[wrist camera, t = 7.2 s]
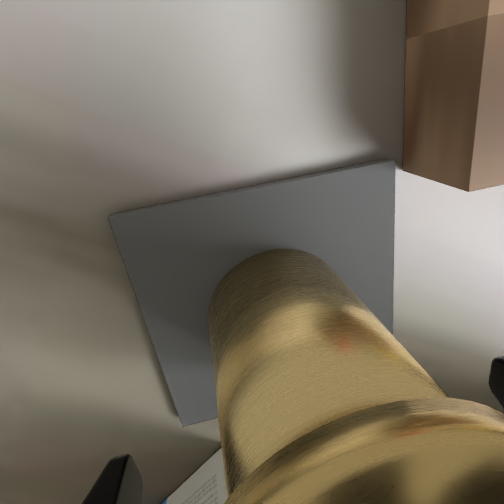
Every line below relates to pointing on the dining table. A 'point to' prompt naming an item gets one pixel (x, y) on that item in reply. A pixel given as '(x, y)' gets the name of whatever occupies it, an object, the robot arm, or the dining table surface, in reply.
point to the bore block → (455, 92)
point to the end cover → (335, 399)
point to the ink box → (203, 484)
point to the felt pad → (244, 246)
